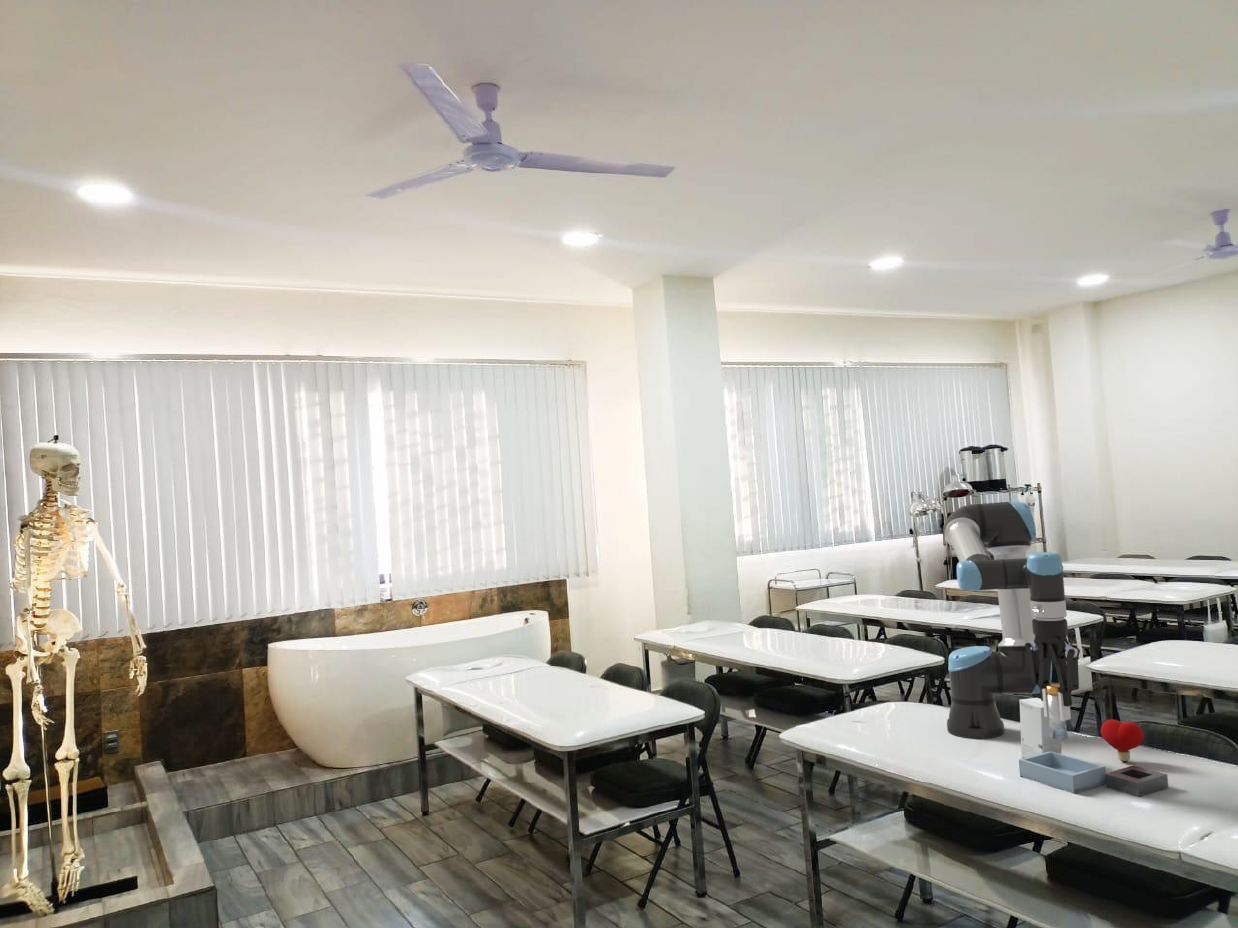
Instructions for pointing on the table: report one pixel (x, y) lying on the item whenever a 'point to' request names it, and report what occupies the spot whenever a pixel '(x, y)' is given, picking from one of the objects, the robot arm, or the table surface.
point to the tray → (1062, 771)
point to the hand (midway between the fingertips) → (1057, 717)
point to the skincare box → (1035, 729)
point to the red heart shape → (1122, 737)
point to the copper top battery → (1055, 713)
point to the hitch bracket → (1136, 780)
